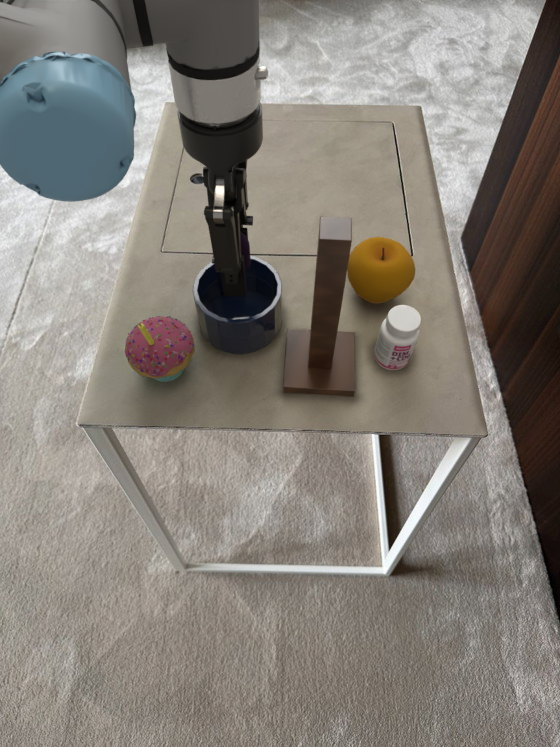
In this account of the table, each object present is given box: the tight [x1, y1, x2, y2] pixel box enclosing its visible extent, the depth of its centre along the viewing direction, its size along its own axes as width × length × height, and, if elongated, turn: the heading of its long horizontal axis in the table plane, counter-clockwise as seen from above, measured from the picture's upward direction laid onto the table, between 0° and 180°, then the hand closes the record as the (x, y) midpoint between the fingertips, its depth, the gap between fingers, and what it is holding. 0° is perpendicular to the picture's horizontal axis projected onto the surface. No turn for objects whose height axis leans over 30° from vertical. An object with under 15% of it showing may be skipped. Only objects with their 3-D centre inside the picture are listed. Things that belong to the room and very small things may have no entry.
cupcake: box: [124, 315, 196, 383], centre depth 66 cm, size 9×8×12 cm
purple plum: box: [240, 232, 251, 271], centre depth 63 cm, size 4×4×5 cm
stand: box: [282, 216, 356, 398], centre depth 61 cm, size 9×9×24 cm
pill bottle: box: [373, 304, 422, 371], centre depth 68 cm, size 5×5×8 cm
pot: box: [192, 255, 283, 355], centre depth 72 cm, size 11×11×7 cm
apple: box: [347, 236, 416, 305], centre depth 74 cm, size 9×9×9 cm
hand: (237, 280), depth 68 cm, fingers closed on purple plum, 4 cm apart
